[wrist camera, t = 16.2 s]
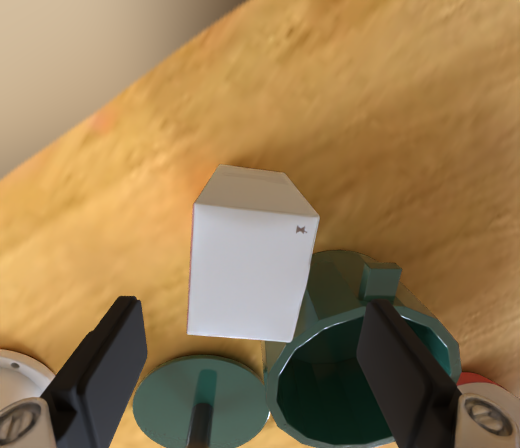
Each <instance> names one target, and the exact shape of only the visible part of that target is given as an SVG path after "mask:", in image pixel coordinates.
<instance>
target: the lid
mask: <svg viewBox="0 0 520 448" xmlns="http://www.w3.org/2000/svg"><path fill="white" fill-rule="evenodd" d="M133 414H134V417H135V420H136V422H137V424H138V426H139V427H140V429H141V430H142V431H143V432H144V433H145V434H146V435H147V436H148V437H149V438H150V439H152V440H153V441H155V442H156V443H158V444H160V445H162V446H164V447H166V448H236V447H239V446H241V445H243V444H245V443H246V442H248V441H250V440H251V439H252V438H254V437H255V436H256V435H257V434H258V433H259V432H260V431H261V430H262V428H263V427H264V425H265V424H266V422H267V420H268V417H269V414H270V411H269V409H268V407H267V405H266V400H265V387H264V382H263V380H262V379H261V378H260V377H259V376H258V375H257V374H256V373H255V372H254V371H253V370H251V369H250V368H248V367H247V366H245V365H243V364H241V363H239V362H237V361H235V360H232V359H229V358H225V357H221V356H214V355H190V356H184V357H180V358H176V359H173V360H170V361H168V362H165V363H163V364H161V365H159V366H158V367H156V368H155V369H153V370H152V371H151V372H149V373H148V374H147V375H146V376H145V377H144V379H143V380H142V381H141V382H140V384H139V386H138V388H137V390H136V392H135V395H134V399H133Z"/></svg>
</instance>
